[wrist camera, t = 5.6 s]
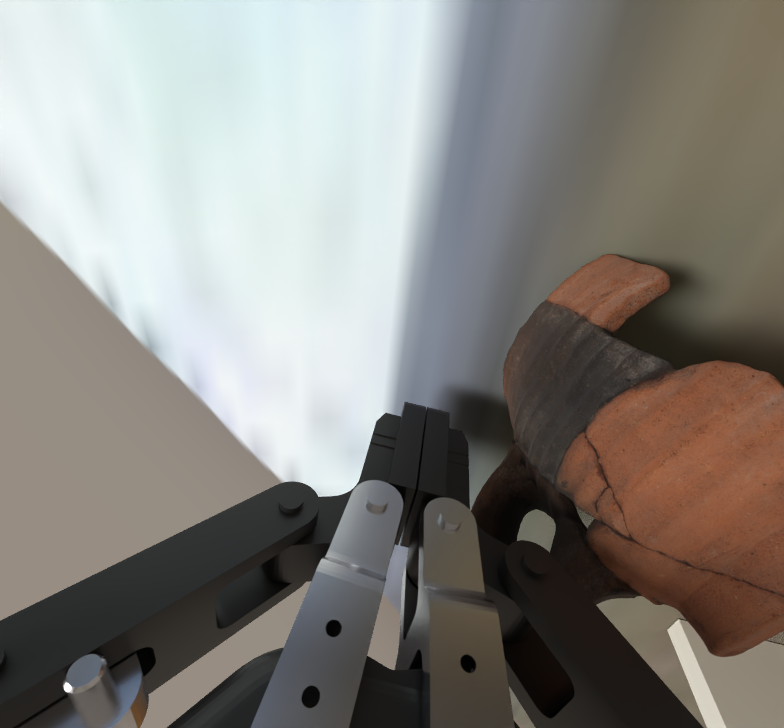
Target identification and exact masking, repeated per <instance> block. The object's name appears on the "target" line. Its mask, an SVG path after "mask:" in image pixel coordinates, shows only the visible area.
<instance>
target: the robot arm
mask: <svg viewBox="0 0 784 728" xmlns="http://www.w3.org/2000/svg"><path fill="white" fill-rule="evenodd" d="M468 456H469V455H468V442H467V440H466V438H465V437H464V435H463V433H462V431H458V430H454V429H450V428H449V412H446V411H441V410H437V409H433V408H429V407H427V409H426V407H425V406H421V405H416V404H412V403H408V402H405V403H404V406H403V410H402V414H401V416H396V415H392V414H388V413H385V414H384V415H383V416H382V417H381V418H380V419H379V420H377V422H376V425H375V428H374V432H373V435H372V439H371V442H370V446H369V449H368V453H367V456H366V459H365V463H364V466H363V470H362V473H361V477H360V480H359V482H358V483H357V485H356V486H355V487H354V488H353V489H352V490H351V491H349V492H347V493H345V494H342V495H339V496H331V497H318V495H317V494H316V492H315V491H314V490H313V489H312V488H311V487H309V486H308V485H306V484H303V483H300V482H284V483H281V484H278V485H276V486H274V487H272V488H270V489H268V490H266V491H264V492H262V493H260V494H257V495H255V496H253V497H251V498H249V499H247V500H245V501H243V502H242V503H239V504H237V505H235V506H233V507H231V508H229V509H227V510H225V511H223V512H221V513H219V514H217V515H215V516H213V517H211V518H209V519H207V520H205V521H202V522H201V523H198V524H196V525H194V526H192V527H190V528H188V529H186V530H184V531H182V532H180V533H178V534H176V535H174V536H172V537H170V538H168V539H166V540H164V541H162V542H160V543H158V544H156V545H154V546H152V547H150V548H147V549H145V550H143V551H141V552H140V553H137V554H135V555H133V556H131V557H129V558H127V559H125V560H123V561H121V562H119V563H117V564H115V565H113V566H111V567H109V568H107V569H105V570H103V571H101V572H99V573H97V574H95V575H92V576H90V577H89V578H86V579H84V580H82V581H80V582H78V583H76V584H74V585H72V586H70V587H68V588H66V589H64V590H62V591H60V592H58V593H56V594H54V595H52V596H50V597H48V598H46V599H44V600H42V601H40V602H38V603H35V604H33V605H31V606H30V607H27V608H26V609H23V610H21V611H19V612H17V613H15V614H13V615H11V616H9V617H7V618H5V619H3V620H1V621H0V728H140V726H141V725H142V723H143V720H144V718H145V716H146V713H147V709H148V702H149V694H150V693H151V692H153V691H154V690H155V689H157V688H158V687H159V686H161V685H163V684H164V683H165V682H167V681H168V680H170V679H171V678H172V677H174V676H175V675H177V674H178V673H180V672H181V671H182V670H184V669H185V668H187V667H188V666H190V665H191V664H192V663H194V662H195V661H197V660H198V659H199V658H201V657H202V656H204V655H205V654H207V653H208V652H209V651H211V650H212V649H214V648H215V647H216V646H218V645H219V644H221V643H222V642H223V641H225V640H226V639H228V638H229V637H231V636H232V635H234V634H235V633H236V632H237V631H239V630H241V629H242V628H243V627H245V626H246V625H248V624H249V623H251V622H252V621H253V620H255V619H256V618H258V617H259V616H260V615H262V614H263V613H265V612H266V611H268V610H269V609H270V608H272V607H273V606H275V605H276V604H278V603H279V602H280V601H282V600H283V599H285V598H286V597H287V596H289V595H290V594H292V593H293V592H295V591H296V590H297V589H299V588H300V587H301V586H302V585H303V584H304V583H305V582H306V581H311V584H310V586H309V589H308V591H307V593H306V596H305V598H304V601H303V603H302V606H301V608H300V610H299V613H298V615H297V617H296V620H295V622H294V625H293V627H292V629H291V632H290V634H289V637H288V639H287V641H286V644H285V646H284V648H280V649H276V650H273V651H270V652H267V653H265V654H263V655H261V656H259V657H257V658H254V659H253V660H251V661H250V662H248V663H247V664H245V665H243V666H242V667H241V668H240V669H238V670H237V671H235V672H234V673H233V674H232V675H231V676H229V677H228V678H227V679H226V680H224V681H223V682H222V683H221V684H220V685H218V686H217V687H216V688H215V689H213V690H212V691H211V692H210V693H209V694H208V695H206V696H205V697H204V698H202V699H201V700H200V701H199V702H198V703H196V704H195V705H194V706H193V707H191V708H190V709H189V710H188V711H187V712H185V713H184V714H183V715H182V716H180V717H179V718H178V719H177V720H176V721H174V722H173V723H172V724H171V725H169V726H168V727H167V728H519V726H518V725H517V724H516V723H515V721H514V719H513V712H512V705H511V698H510V692H509V686H510V688H511V689H512V691H513V692H514V694H515V696H516V697H517V699H518V700H519V702H520V704H521V705H522V707H523V708H524V710H525V711H526V713H527V715H528V716H529V718H530V719H531V721H532V723H533V724H534V726H535V727H536V728H703V727H702V726H701V724H700V723H699V722H698V721H697V720H696V719H695V718H694V716H693V715H692V714H691V713H690V712H689V711H688V710H687V708H686V707H685V706H684V705H683V704H682V703H681V702H680V700H679V699H678V698H677V697H676V696H675V695H674V694H673V693H672V691H671V690H670V689H669V688H668V687H667V686H666V685H665V683H664V682H663V681H662V680H661V679H660V678H659V677H658V675H657V674H656V673H655V672H654V671H653V670H652V669H651V667H650V666H649V665H648V664H647V663H646V662H645V661H644V659H643V658H642V657H641V656H640V655H639V654H638V653H637V651H636V650H635V649H634V648H633V647H632V646H631V645H630V644H629V642H628V641H627V640H626V639H625V638H624V637H623V636H622V634H621V633H620V632H619V631H618V630H617V629H616V628H615V626H614V625H613V624H612V623H611V622H610V621H609V620H608V618H607V617H606V616H605V615H604V614H603V613H602V612H601V610H600V609H599V608H598V607H597V606H596V605H595V604H594V602H593V601H592V600H591V599H590V598H589V597H588V596H587V595H586V593H585V592H584V591H583V590H582V589H581V588H580V587H579V585H578V584H577V583H576V582H575V581H574V580H573V579H572V577H571V576H570V575H569V574H568V573H567V572H566V571H565V569H564V568H563V567H562V566H561V565H560V564H559V563H558V561H557V560H556V559H555V558H554V557H553V556H552V555H551V554H550V553H549V552H548V551H547V550H546V549H544V548H543V547H541V546H540V545H538V544H536V543H533V542H530V541H524V540H521V541H516V542H513V543H512V544H510V546H508V545H506V544H504V543H502V542H501V541H499V540H497V539H495V538H493V537H492V536H490V535H488V534H487V533H486V532H484V531H483V530H482V529H481V528H480V527H479V526H478V525H477V523H476V520H475V518H474V516H473V514H472V512H471V511H470V504H469V469H468V467H469V458H468ZM401 534H402V537H401ZM400 538H401V543H400V545H401V546H405V547H408V548H409V549H408V556H407V562H406V565H405V568H404V571H403V577H402V596H401V615H400V635H399V648H398V655H397V659H396V665H395V670H391V669H389V668H387V667H385V666H383V665H382V664H380V663H378V662H377V661H375V660H373V659H372V658H370V657H368V656H367V654H368V650H369V646H370V641H371V638H372V634H373V630H374V625H375V621H376V618H377V614H378V610H379V605H380V602H381V598H382V594H383V590H384V586H385V581H386V574H387V570H388V566H389V562H390V558H391V555H392V552H393V549H394V545H395V544H396V545H398V544H399V541H400ZM508 684H509V685H508Z"/></svg>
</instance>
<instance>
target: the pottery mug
mask: <svg viewBox="0 0 784 728" xmlns="http://www.w3.org/2000/svg"><path fill="white" fill-rule="evenodd" d="M669 288H670V278H669V276H668V274H667V273H666V272H664V271H663V270H661V269H659V268H657V267H655V266H652V265H647V264H640V263H637V262H634V261H632V260H629V259H625V258H622V257H619V256H617V255H614V254H607V255H603V256H601V257H599V258H598V259H596V260H594V261H592V262H590V263H588V264H586V265H585V266H583V267H582V268H580V269H579V270H578V271H577V272H575V273H574V274H573V275H571V276H570V277H568V278H567V279H566V280H565V281H564V282H563V283H562V284H561V285H560V286H559V287H558V288H557V289H556V290H555V291H553V292H552V293H551V294H550V295H549V297H548V298H547V299H546V300H545V301H544V302H542V303H541V304H540V305H539V306H538V307H537V309H536V310H535V311H534V312H533V314H532V315H531V316H530V318H529V319H528V321H527V322H526V323H525V324H524V325H523V326H522V327H521V328H520V330H519V332H518V334H517V336H516V339H515V341H514V343H513V344H512V346H511V348H510V349H509V351H508V354H507V358H506V360H505V363H504V369H503V371H504V376H503V388H504V395H505V398H506V400H507V402H508V408H509V414H510V419H511V424H512V427H513V430H514V439H515V440H514V441H512V442H511V443H510V446H509V450H508V453H507V456H506V458H505V459H504V461H503V462H502V463H501V465H500V466H499V467H498V468H497V469H496V470H495V471H494V472H493V474H492V475H491V476H490V478H489V479H488V480H487V482H486V483H485V484H484V486H483V487H482V489H481V491H480V493H479V494H478V496H477V498H476V500H475V503H474V505H473V507H472V510H471V512H472V514H473V516H474V518H475V520H476V523H477V525H478V526H479V527H480V528H481V529H482V530H483V531H484V532H486V533H487V534H488V535H490V536H492V537H493V538H495V539H497V540H499V541H501V542H502V543H504V544H506V545H508V546H510V544H512V543H513V542H516V541H517V535H518V532H519V528H520V524H521V522H522V520H523V518H524V516H525V515H526V514H527V513H528V512H530V511H532V510H534V509H538V510H541V511H543V512H545V513H547V515H549V516H550V517H551V518H553V519H554V522H555V524H556V532H555V536H554V539H553V543H552V547H551V551H550V554H551V555H552V556H553V557H554V558H555V559H556V560H557V561H558V563H559V564H560V565H561V566H562V567H563V568H564V569H565V571H566V572H567V573H568V574H569V575H570V576H571V577H572V579H573V580H574V581H575V582H576V583H577V584H578V585H579V587H580V588H581V589H582V590H583V591H584V592H585V593H586V595H587V596H588V597H589V598H590V599H591V600H592V601H593V602H594V604H595V605H596V604H598V603H600V602H603V601H605V600H609V599H615V598H635V597H636V596H643V597H645V598H646V599H648V600H649V601H651V602H652V603H653V604H655V605H662V604H665V605H669V606H671V607H674V608H675V609H677V610H679V611H680V612H681V614H682V615H683V616H684V617H685V619H686V620H687V621H688V623H689V624H690V625H691V626H692V627H693V628H694V630H695V631H696V632H697V634H698V635H699V636H700V638H701V639H702V640H703V642H704V644H705V646H706V647H707V649H708V651H709V652H710V653H711V654H713V655H714V656H719V657H730V656H736V655H739V654H742V653H744V652H746V651H747V650H749V649H752V648H753V647H755V646H757V645H759V644H760V643H762V642H763V641H765V640H767V639H769V638H771V637H773V636H774V635H776V634H778V633H780V632H782V631H784V386H783V385H782V384H781V383H780V382H779V381H778V380H777V379H776V378H775V376H774V375H772V374H771V373H768V372H765V371H759V370H755V369H753V368H751V367H749V366H746V365H743V364H740V363H736V362H726V361H721V360H715V361H709V362H705V363H700V364H695V365H690V366H688V367H686V368H683V369H679V370H675V369H674V368H673V367H672V365H671V364H670V363H669V362H668V361H666V360H664V359H662V358H660V357H658V356H655V355H652V354H650V353H647V352H645V351H643V350H640V349H638V348H636V347H634V346H632V345H630V344H628V343H626V342H624V341H622V340H619V339H616V338H614V336H613V333H614V332H615V331H616V330H617V329H619V328H620V327H621V326H622V325H623V323H624V322H625V321H626V320H627V319H628V318H629V317H631V316H633V315H634V314H636V313H637V311H638V310H640V309H641V308H643V307H645V306H646V305H648V304H649V303H650V302H652V301H653V300H655V299H656V298H658V297H659V296H661V295H663V294H665V293H666V292H667V291H668V290H669ZM573 502H574V503H573ZM574 504H575V505H576V506H577V507H578V508H579V509H581V510H582V511H584V512H586V513H587V514H589V515H591V516H592V517H594V518H595V519H594V520H593V521H592V523H591V524H590V525H589V527H588V529H587V528H586V526H585V525H584V524H583V522H582V521H581V519H580V517H579V515H578V512H577V509H576V507H575V505H574Z"/></svg>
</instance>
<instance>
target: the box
mask: <svg viewBox="0 0 784 728" xmlns="http://www.w3.org/2000/svg"><path fill="white" fill-rule="evenodd" d="M668 633H669V635H670V638H671V640H672V643H673V645H674V648H675V650H676V653H677V655H678V657H679V660H680V662H681V665H682V667H683V670H684V672H685V675H686V677H687V680H688V682H689V684H690V687H691V689H692V692H693V694H694V697H695V699H696V702H697V704H698V706H699V709H700V711H701V714H702V716H703V719H704V721H705V724H706V726H707V728H784V645H781V644H777V643H773V642H768V641H763V642H762V643H760V644H759V645H757V646H755V647H753V648H752V649H749V650H747V651H746V652H744V653H742V654H739V655H736V656H730V657H719V656H714V655H713V654H711V653H710V652H709V651H708V649H707V647H706V646H705V644H704V642H703V640H702V639H701V638H700V636H699V635H698V634H697V632H696V631H695V630H694V628H693V627H692V626H691V625H690V624H689V623H688V621H684V620H680V619H678V620H677V621H676V622H675V623H674V624H673V625H672V626H671V627H670V628H669V629H668Z"/></svg>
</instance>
